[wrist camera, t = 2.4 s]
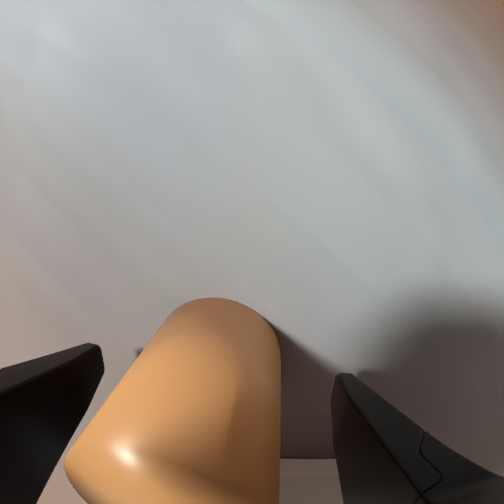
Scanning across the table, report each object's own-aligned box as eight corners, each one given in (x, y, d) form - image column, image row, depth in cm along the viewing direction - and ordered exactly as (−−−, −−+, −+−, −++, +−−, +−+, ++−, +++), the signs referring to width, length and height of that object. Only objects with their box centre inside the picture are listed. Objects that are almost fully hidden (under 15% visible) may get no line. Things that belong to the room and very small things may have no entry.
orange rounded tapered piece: (286, 303, 9) (295, 472, 3) (273, 418, 10) (264, 565, 4) (155, 291, 9) (35, 413, 4) (165, 404, 10) (104, 532, 5)
